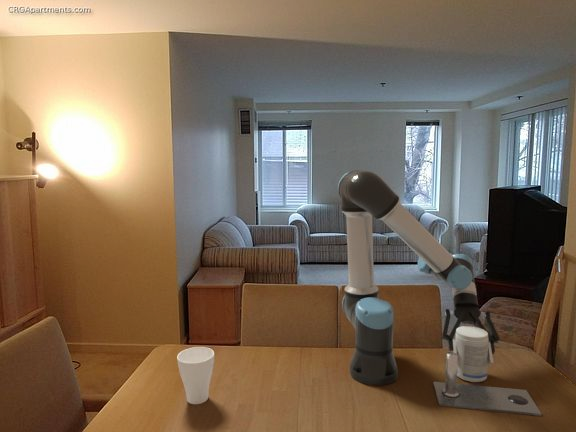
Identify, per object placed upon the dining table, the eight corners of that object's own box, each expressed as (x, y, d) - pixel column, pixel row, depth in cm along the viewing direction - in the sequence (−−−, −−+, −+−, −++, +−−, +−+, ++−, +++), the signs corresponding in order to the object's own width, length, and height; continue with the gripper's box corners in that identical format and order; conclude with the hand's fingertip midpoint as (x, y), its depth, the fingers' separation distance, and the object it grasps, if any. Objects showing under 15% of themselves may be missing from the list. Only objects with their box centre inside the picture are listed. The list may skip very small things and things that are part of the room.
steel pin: (443, 396, 121) (445, 357, 120) (441, 388, 126) (442, 350, 124) (460, 398, 120) (461, 358, 119) (457, 390, 125) (458, 351, 123)
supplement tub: (493, 377, 133) (495, 333, 131) (475, 386, 127) (477, 340, 125) (465, 365, 141) (467, 323, 139) (447, 373, 135) (449, 329, 134)
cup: (222, 392, 126) (220, 349, 124) (204, 412, 116) (202, 365, 114) (191, 386, 129) (189, 344, 128) (171, 405, 120) (169, 360, 118)
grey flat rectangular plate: (439, 405, 118) (439, 403, 118) (433, 383, 130) (433, 381, 130) (541, 415, 113) (541, 413, 113) (525, 391, 124) (526, 389, 124)
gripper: (497, 303, 144) (509, 369, 131) (429, 299, 149) (433, 363, 135) (502, 293, 138) (515, 361, 125) (431, 289, 143) (436, 355, 130)
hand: (473, 362), depth 130 cm, fingers closed on supplement tub, 9 cm apart
